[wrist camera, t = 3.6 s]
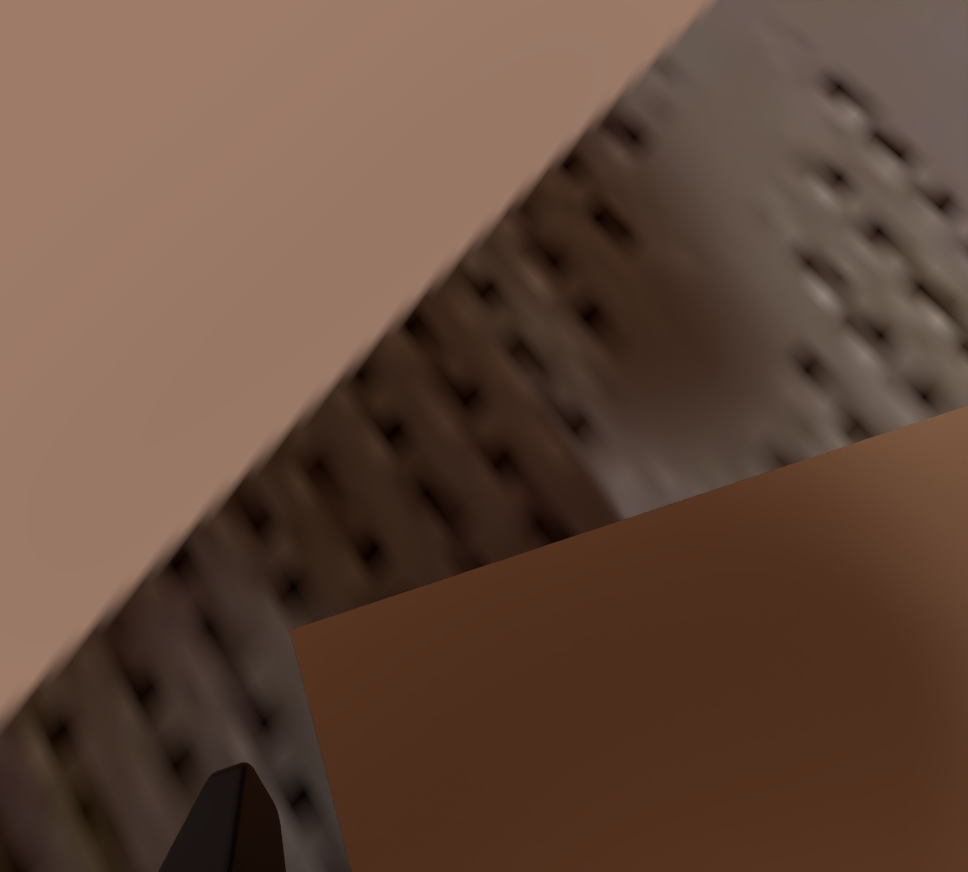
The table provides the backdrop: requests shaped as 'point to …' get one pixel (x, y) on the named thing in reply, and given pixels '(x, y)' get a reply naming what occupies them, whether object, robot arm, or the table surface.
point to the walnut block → (676, 685)
